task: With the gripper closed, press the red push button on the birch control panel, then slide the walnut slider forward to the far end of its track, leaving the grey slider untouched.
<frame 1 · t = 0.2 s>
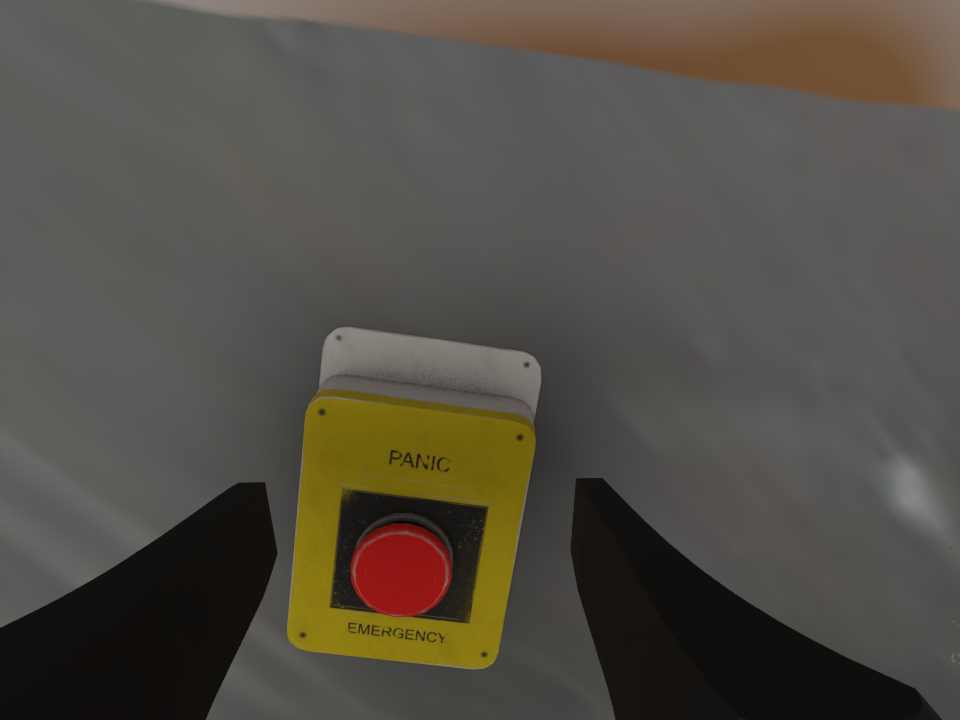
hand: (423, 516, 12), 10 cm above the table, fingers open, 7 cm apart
emergency button: (416, 494, 24), on the table
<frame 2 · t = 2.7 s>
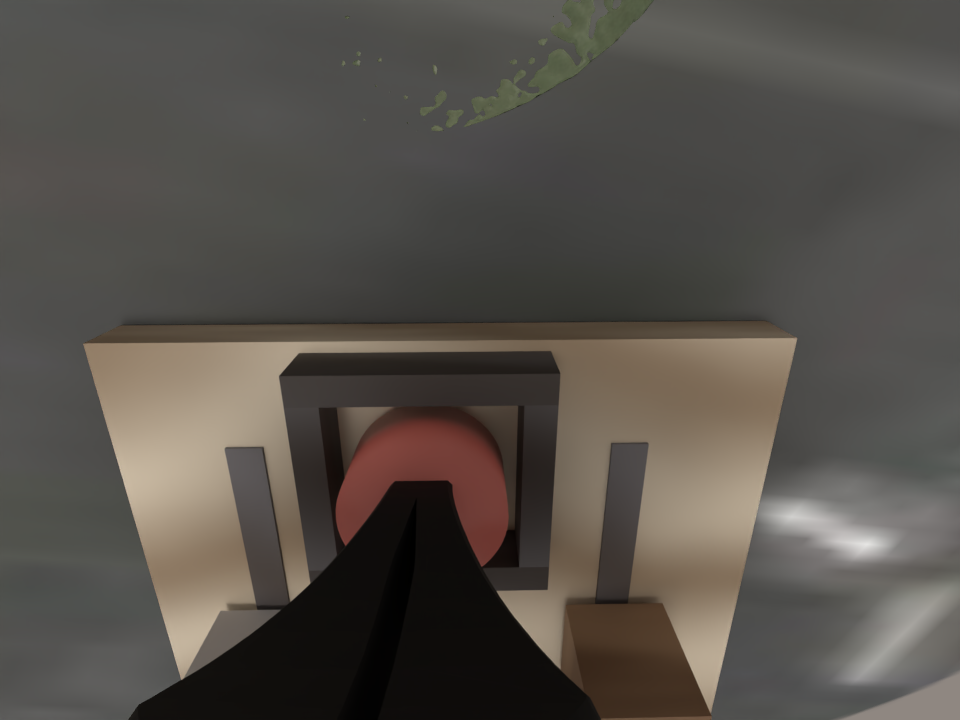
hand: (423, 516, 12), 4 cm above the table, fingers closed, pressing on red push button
grey slider: (256, 699, 15), point 4 cm above the table, slide at 0.0 cm
walnut slider: (625, 692, 15), point 4 cm above the table, slide at 0.0 cm
control panel: (452, 527, 17), on the table
red push button: (425, 492, 13), point 3 cm above the table, slide at 1.2 cm, touching gripper
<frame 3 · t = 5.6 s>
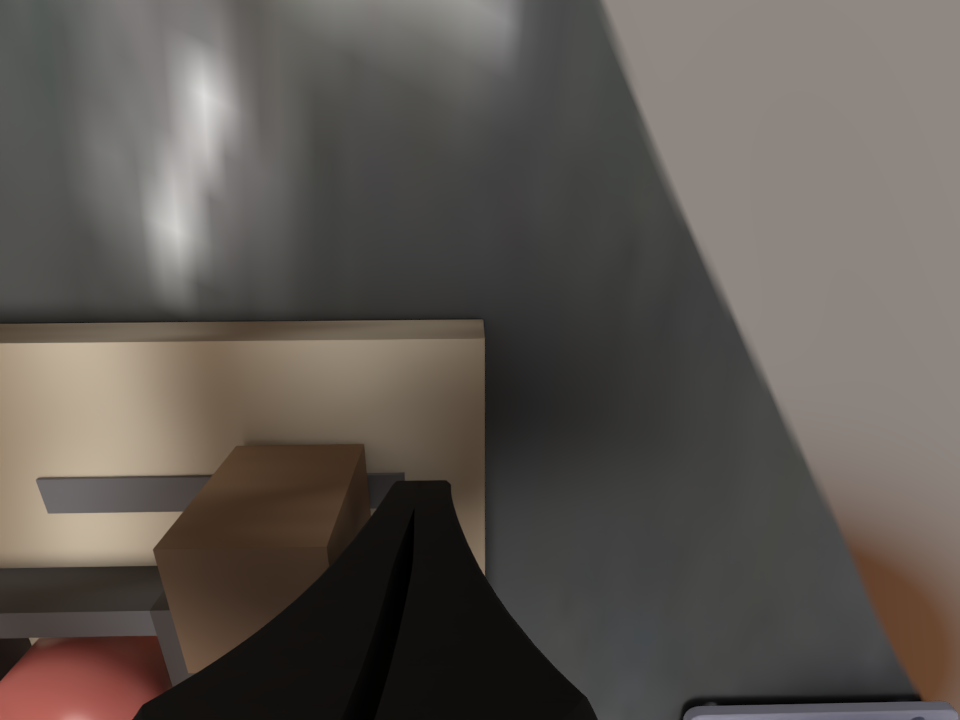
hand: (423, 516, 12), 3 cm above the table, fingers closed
walnut slider: (284, 547, 11), point 4 cm above the table, slide at 0.4 cm, touching gripper
control panel: (259, 597, 16), on the table
red push button: (85, 704, 14), point 3 cm above the table, slide at 1.2 cm
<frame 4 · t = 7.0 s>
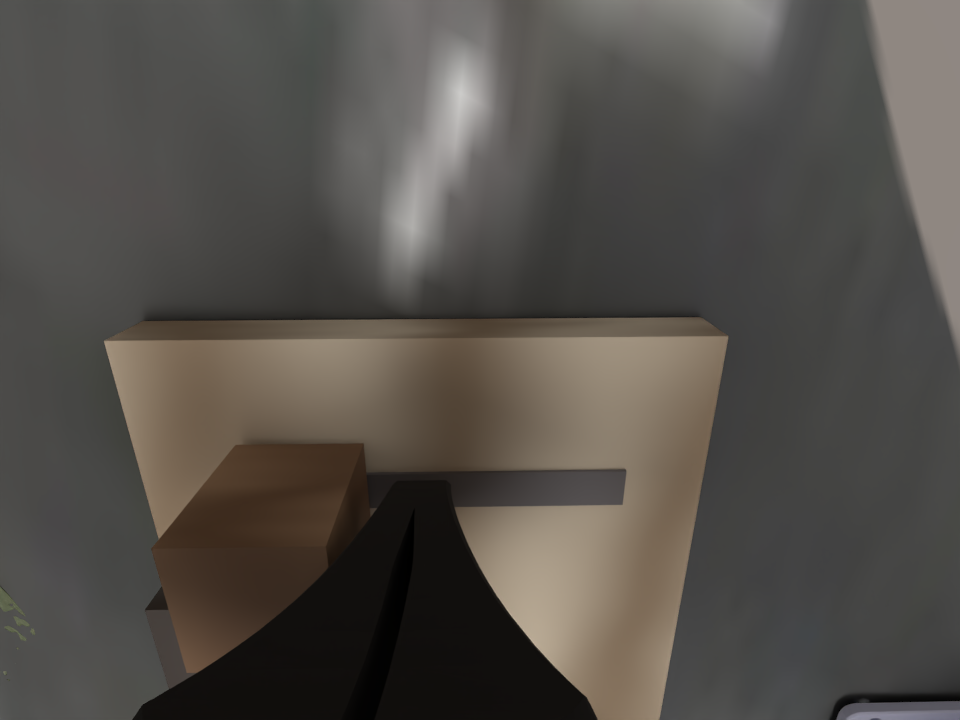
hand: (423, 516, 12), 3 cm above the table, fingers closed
walnut slider: (283, 546, 11), point 4 cm above the table, slide at 5.9 cm, touching gripper
control panel: (436, 594, 16), on the table
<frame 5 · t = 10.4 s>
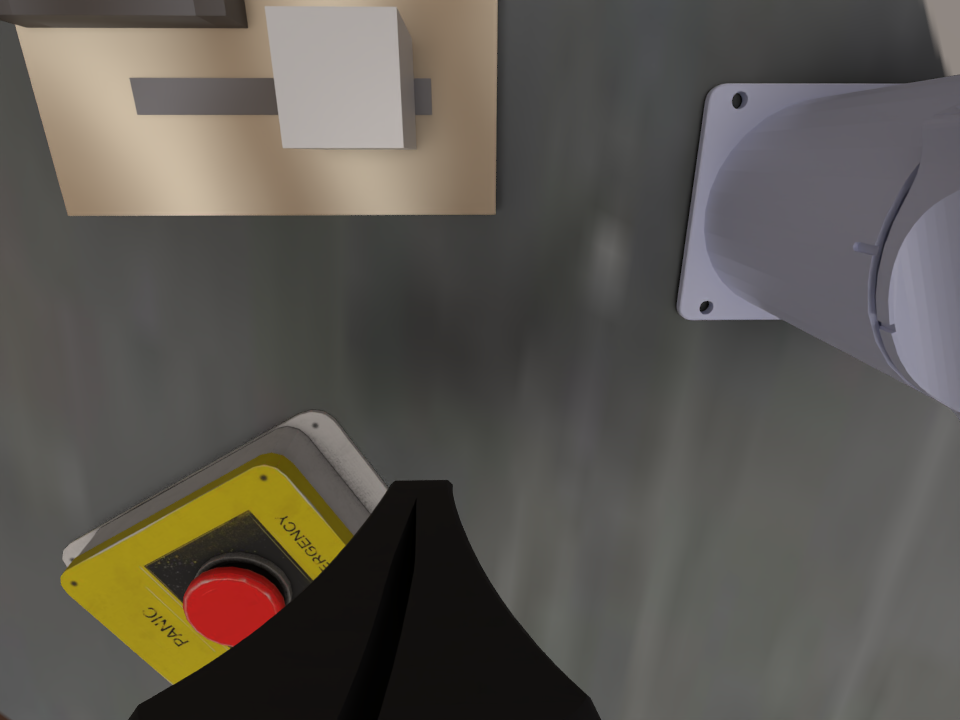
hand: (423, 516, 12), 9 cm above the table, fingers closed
grey slider: (352, 89, 14), point 4 cm above the table, slide at 0.0 cm
emergency button: (255, 542, 25), on the table
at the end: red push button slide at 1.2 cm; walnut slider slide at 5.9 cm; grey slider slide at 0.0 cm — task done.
